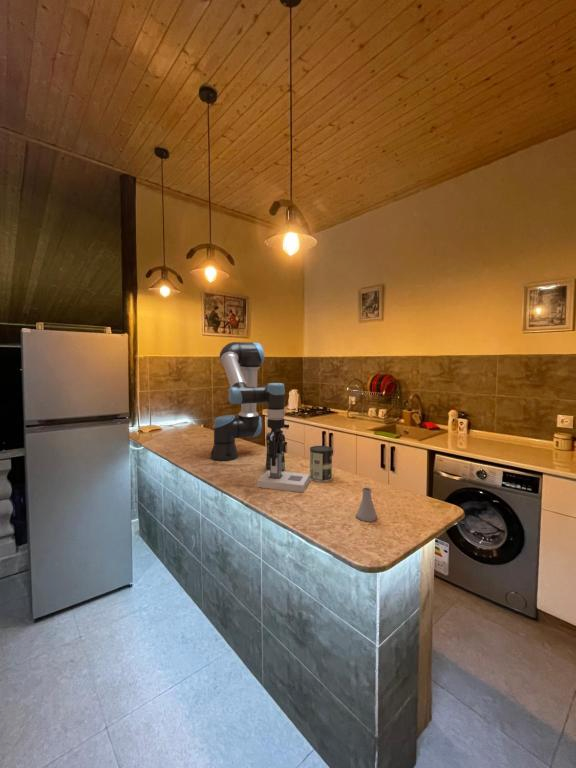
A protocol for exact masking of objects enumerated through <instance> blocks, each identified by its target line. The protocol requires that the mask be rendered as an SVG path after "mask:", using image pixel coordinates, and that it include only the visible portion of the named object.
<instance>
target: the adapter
mask: <svg viewBox="0 0 576 768" xmlns="http://www.w3.org/2000/svg"><path fill="white" fill-rule="evenodd" d="M282 472H283V471H282V454H279V453H277V473H271V458H270V478H276V479H279V478H280V477H281V476H282Z"/></svg>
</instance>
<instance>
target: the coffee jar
mask: <svg viewBox="0 0 576 768" xmlns="http://www.w3.org/2000/svg"><path fill="white" fill-rule="evenodd" d="M270 433H271V431H269V432H267V434H266V435H265V436H266V438H265V443H266V455H265V456H266V457H265V458H266V460H265V468H266V470H267V471H268V470H270V458H269V438H268V436H270ZM285 443H286V436H285V434H283V435H282V452H281V453H283V454H282V472H284V470H285V469H286V463H285V462H286V461H285V460H286V459H285Z"/></svg>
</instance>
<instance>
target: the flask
mask: <svg viewBox="0 0 576 768" xmlns="http://www.w3.org/2000/svg"><path fill="white" fill-rule="evenodd" d="M361 491H362V498H361V502H360V504H359V507H358V510H357V512H356V515H355V518H357V519H358V520H360V521H362V522H363V521H364V522H367V523H368V522H369V523H371V522H374V521H376V520H377V519H378V515H377V511H376V509H375V506H374V503H373V499H372V491H373V489H372V488H371V487H366V486H364V487H362V489H361Z"/></svg>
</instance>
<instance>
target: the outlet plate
mask: <svg viewBox="0 0 576 768" xmlns="http://www.w3.org/2000/svg"><path fill="white" fill-rule="evenodd" d="M256 481H257V482H256V485H257V488H259V487H261V489H268V488H269V489H270V490H279V491H285V492H287V491H288V492H295V493H304V491H305V490H306V488H307V487H308V485H309V483H310V481H311V479H310V473H309V474H308V473H300V472H299V473H298V472H289V471H282V476H281V477H280V478H279V479H276V478H270V470H268V469H267V471H265V473H263V474H262V475H261V476H260V477H259V478H258V479H257V480H256ZM269 489H268V490H269Z"/></svg>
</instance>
